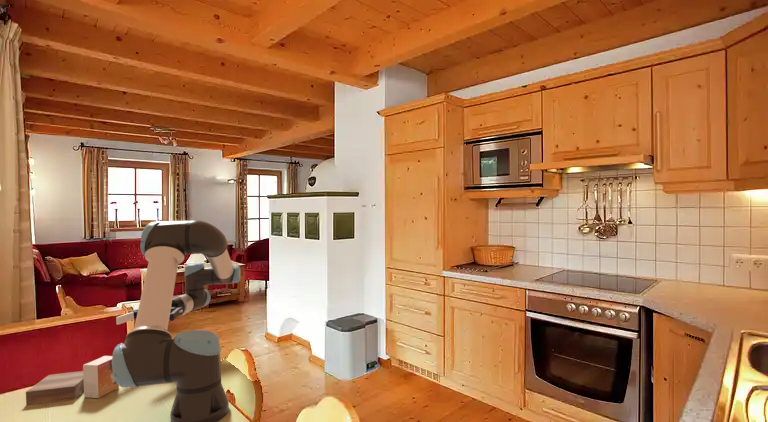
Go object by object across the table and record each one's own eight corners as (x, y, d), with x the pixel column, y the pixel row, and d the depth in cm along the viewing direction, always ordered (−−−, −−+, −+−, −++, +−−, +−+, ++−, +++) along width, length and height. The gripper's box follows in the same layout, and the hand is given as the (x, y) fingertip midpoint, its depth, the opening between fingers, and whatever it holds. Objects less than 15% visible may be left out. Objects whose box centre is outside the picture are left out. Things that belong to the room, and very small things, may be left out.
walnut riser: (75, 398, 128) (74, 386, 128) (26, 404, 125) (25, 391, 125) (93, 381, 141) (93, 369, 141) (49, 386, 138) (49, 374, 138)
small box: (98, 399, 128) (97, 365, 128) (83, 397, 129) (82, 364, 129) (119, 387, 136) (118, 356, 135) (105, 386, 137) (104, 355, 137)
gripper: (204, 317, 160) (161, 334, 140) (153, 313, 167) (105, 330, 147) (203, 298, 160) (160, 313, 140) (152, 295, 167) (104, 309, 147)
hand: (132, 321), depth 143 cm, fingers open, 13 cm apart
